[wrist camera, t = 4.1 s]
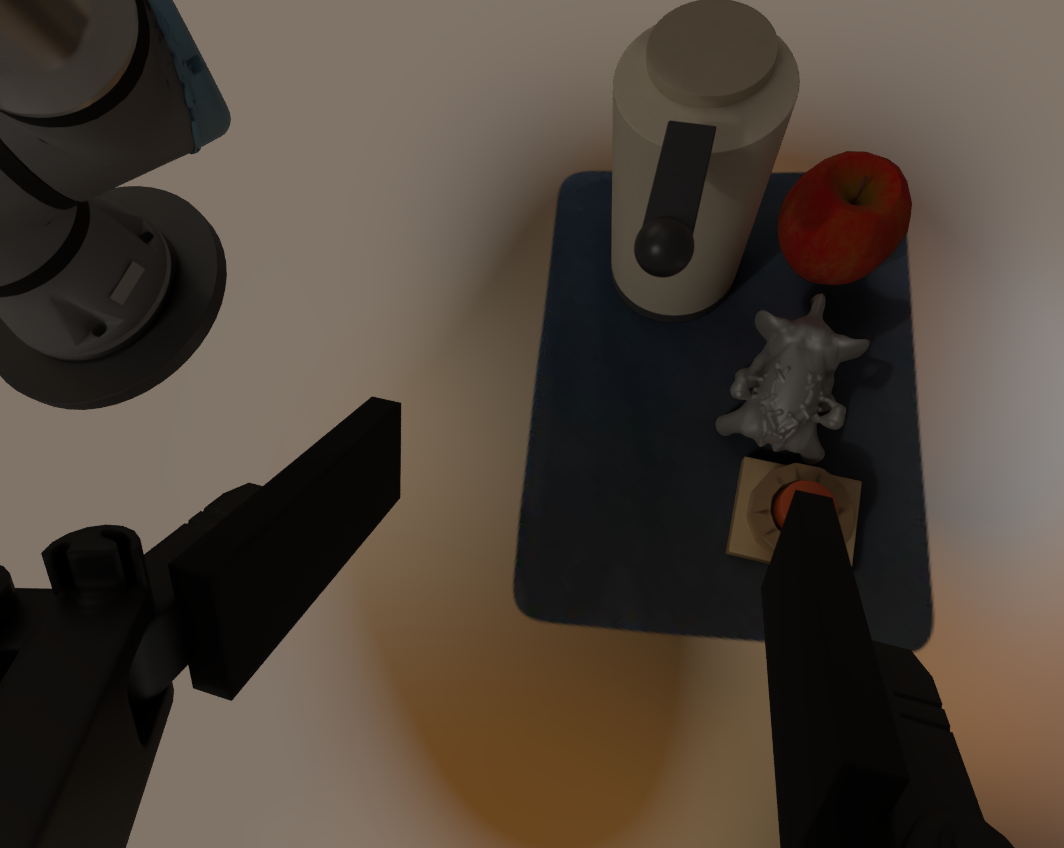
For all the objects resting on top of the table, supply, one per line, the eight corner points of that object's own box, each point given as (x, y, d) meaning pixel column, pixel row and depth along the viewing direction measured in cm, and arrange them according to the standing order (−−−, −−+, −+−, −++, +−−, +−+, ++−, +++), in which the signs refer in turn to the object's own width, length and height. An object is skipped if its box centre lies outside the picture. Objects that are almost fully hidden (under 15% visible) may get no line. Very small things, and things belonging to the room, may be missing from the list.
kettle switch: (627, 283, 32) (629, 250, 29) (661, 146, 34) (665, 104, 32) (684, 293, 31) (691, 260, 29) (715, 153, 34) (724, 111, 31)
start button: (769, 531, 43) (776, 527, 42) (777, 480, 44) (784, 474, 43) (826, 544, 43) (834, 540, 41) (832, 492, 44) (841, 486, 42)
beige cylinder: (599, 310, 53) (594, 129, 34) (625, 209, 56) (634, -10, 37) (723, 333, 51) (789, 154, 32) (744, 227, 54) (815, 6, 35)
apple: (851, 332, 50) (914, 252, 40) (744, 296, 52) (777, 211, 42) (883, 243, 52) (951, 145, 42) (779, 212, 54) (819, 111, 44)
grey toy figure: (713, 464, 48) (732, 432, 41) (710, 319, 52) (727, 266, 44) (845, 469, 47) (889, 437, 39) (832, 320, 50) (870, 265, 43)
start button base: (725, 553, 46) (733, 547, 43) (741, 460, 48) (749, 449, 45) (844, 582, 44) (860, 578, 41) (855, 485, 46) (872, 474, 43)
